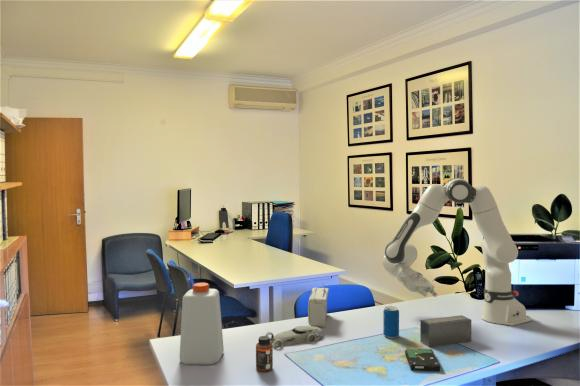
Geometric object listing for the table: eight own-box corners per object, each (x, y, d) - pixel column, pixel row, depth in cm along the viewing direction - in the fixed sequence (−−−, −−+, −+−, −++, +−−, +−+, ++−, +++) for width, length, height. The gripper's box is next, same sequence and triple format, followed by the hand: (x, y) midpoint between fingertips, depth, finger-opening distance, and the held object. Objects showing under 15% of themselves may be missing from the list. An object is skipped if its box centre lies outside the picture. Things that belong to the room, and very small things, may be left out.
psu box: (461, 336, 194) (461, 314, 194) (471, 341, 188) (471, 319, 188) (419, 341, 188) (420, 319, 188) (428, 347, 182) (429, 324, 182)
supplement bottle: (273, 372, 161) (272, 340, 160) (256, 372, 160) (255, 341, 160) (272, 364, 167) (272, 334, 166) (256, 365, 166) (255, 334, 165)
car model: (262, 340, 191) (262, 328, 191) (314, 331, 202) (314, 320, 201) (273, 350, 181) (273, 337, 181) (326, 340, 191) (326, 328, 191)
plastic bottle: (187, 349, 181) (186, 279, 180) (225, 349, 181) (224, 279, 180) (176, 365, 166) (175, 289, 165) (218, 366, 166) (217, 289, 164)
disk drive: (441, 373, 160) (431, 355, 175) (441, 365, 160) (431, 348, 175) (411, 372, 161) (404, 354, 176) (411, 364, 161) (404, 347, 176)
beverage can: (381, 333, 197) (381, 306, 197) (396, 333, 198) (396, 305, 197) (386, 339, 191) (386, 310, 190) (401, 338, 192) (401, 310, 191)
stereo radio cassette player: (312, 313, 226) (311, 273, 225) (328, 314, 225) (328, 273, 224) (307, 327, 206) (307, 283, 204) (326, 328, 204) (326, 284, 203)
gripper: (401, 271, 213) (424, 289, 204) (422, 273, 228) (445, 290, 218) (394, 282, 215) (416, 301, 205) (416, 284, 229) (438, 301, 220)
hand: (431, 295), depth 212 cm, fingers open, 8 cm apart
